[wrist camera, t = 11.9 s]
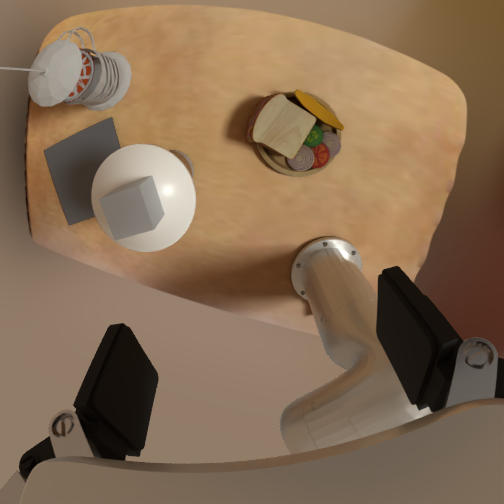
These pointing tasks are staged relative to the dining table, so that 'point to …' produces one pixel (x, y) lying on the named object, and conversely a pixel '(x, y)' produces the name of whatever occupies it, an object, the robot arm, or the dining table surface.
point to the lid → (143, 197)
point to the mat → (80, 167)
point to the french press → (77, 75)
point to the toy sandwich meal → (295, 132)
